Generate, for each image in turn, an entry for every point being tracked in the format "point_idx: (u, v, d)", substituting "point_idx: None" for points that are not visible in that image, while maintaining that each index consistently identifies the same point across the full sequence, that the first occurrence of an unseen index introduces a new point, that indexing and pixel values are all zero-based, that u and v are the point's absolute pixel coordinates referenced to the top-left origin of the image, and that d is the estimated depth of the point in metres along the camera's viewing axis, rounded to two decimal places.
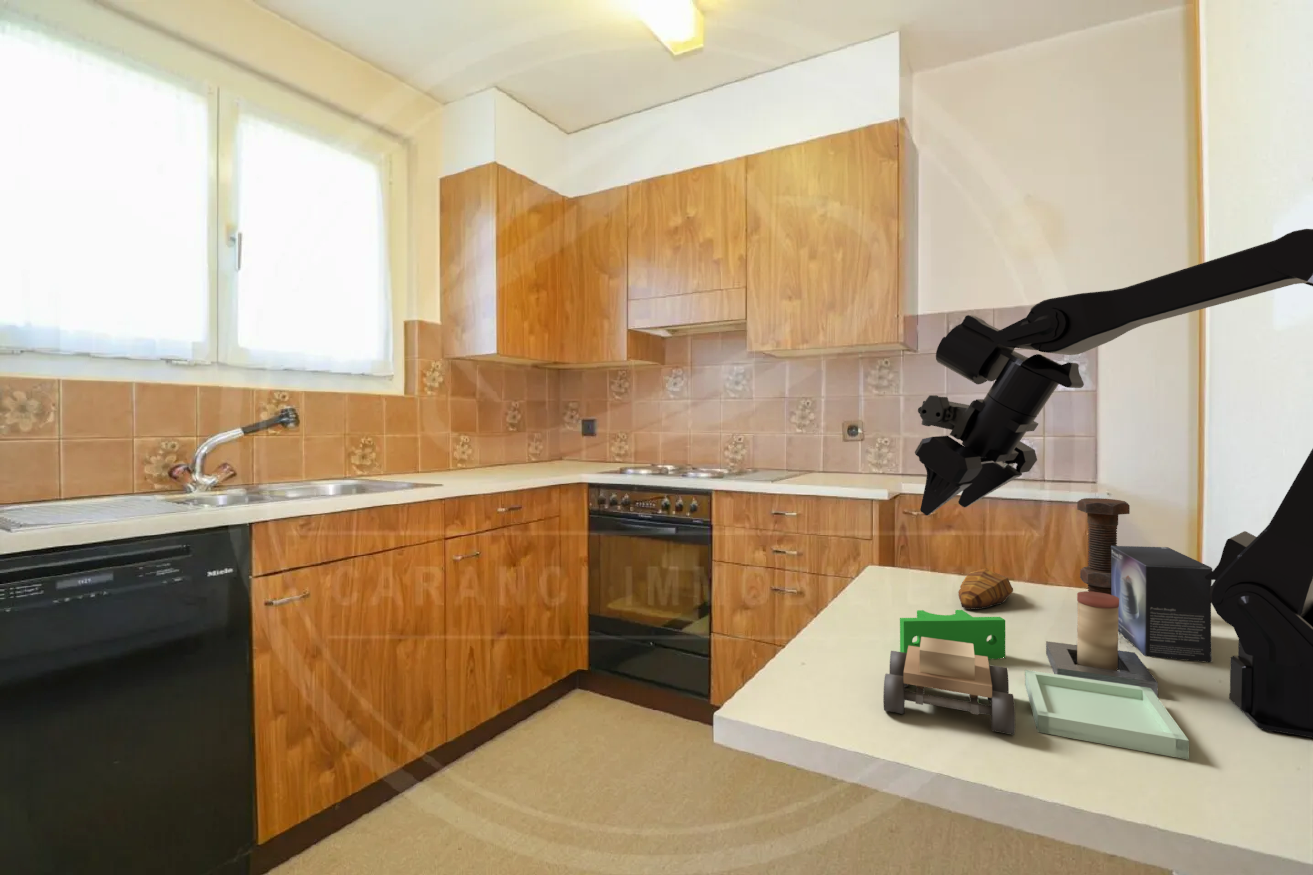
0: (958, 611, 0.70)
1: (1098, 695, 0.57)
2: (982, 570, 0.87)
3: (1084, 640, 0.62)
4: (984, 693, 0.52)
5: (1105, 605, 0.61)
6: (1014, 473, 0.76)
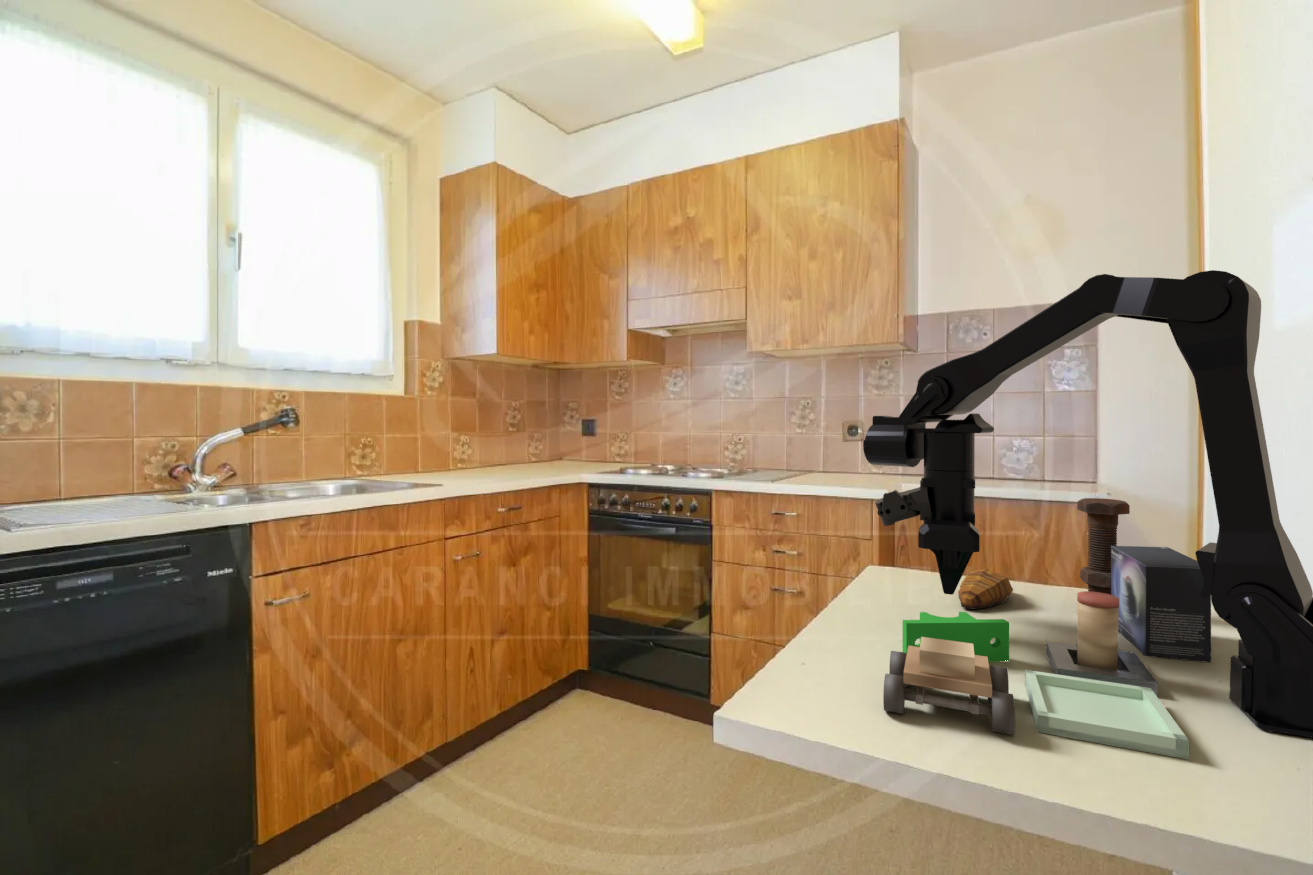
0: (961, 613, 0.69)
1: (1098, 695, 0.57)
2: (982, 570, 0.87)
3: (1084, 640, 0.62)
4: (984, 693, 0.52)
5: (1105, 605, 0.61)
6: None
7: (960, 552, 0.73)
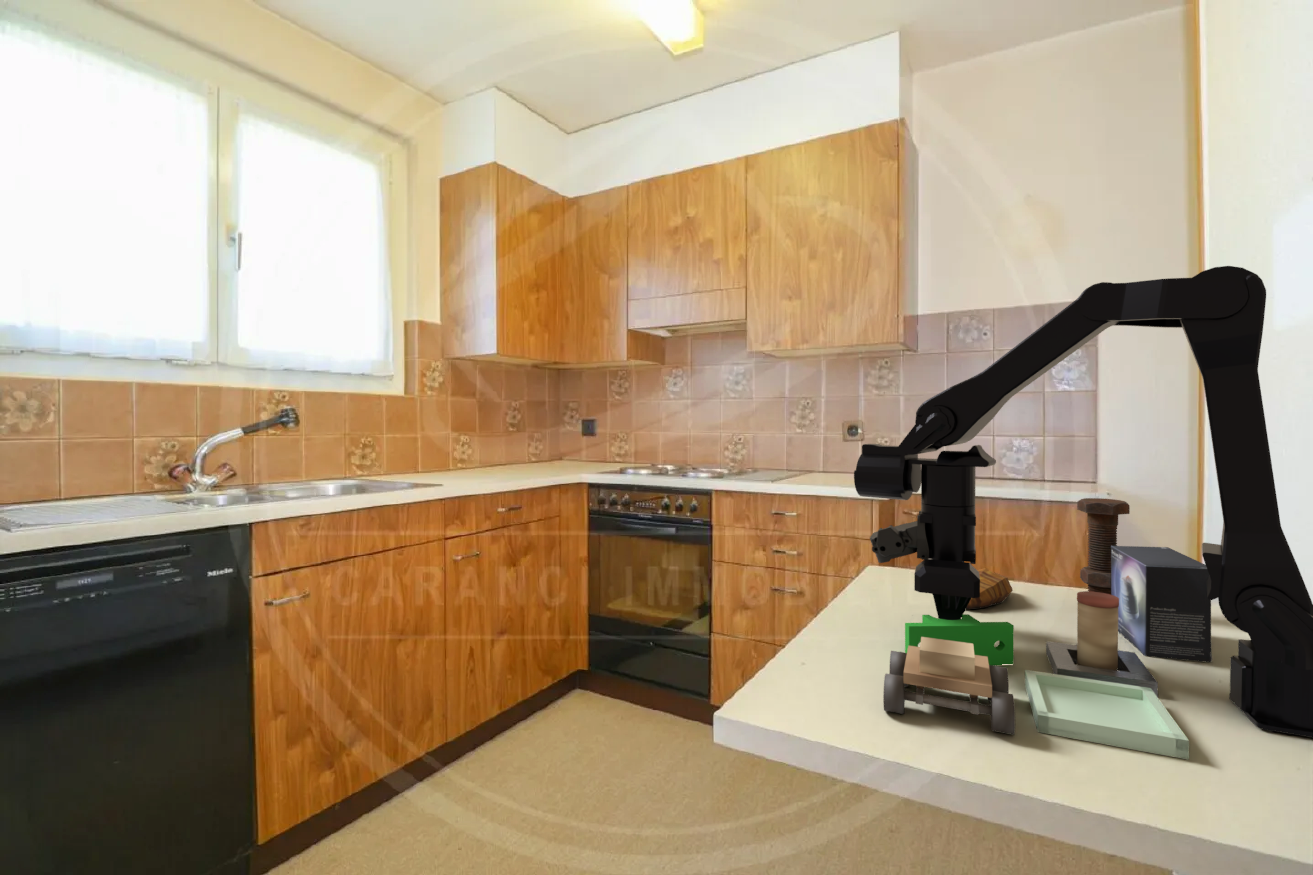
0: (965, 616, 0.68)
1: (1098, 695, 0.57)
2: (981, 570, 0.87)
3: (1083, 640, 0.62)
4: (984, 693, 0.52)
5: (1105, 605, 0.61)
6: None
7: None
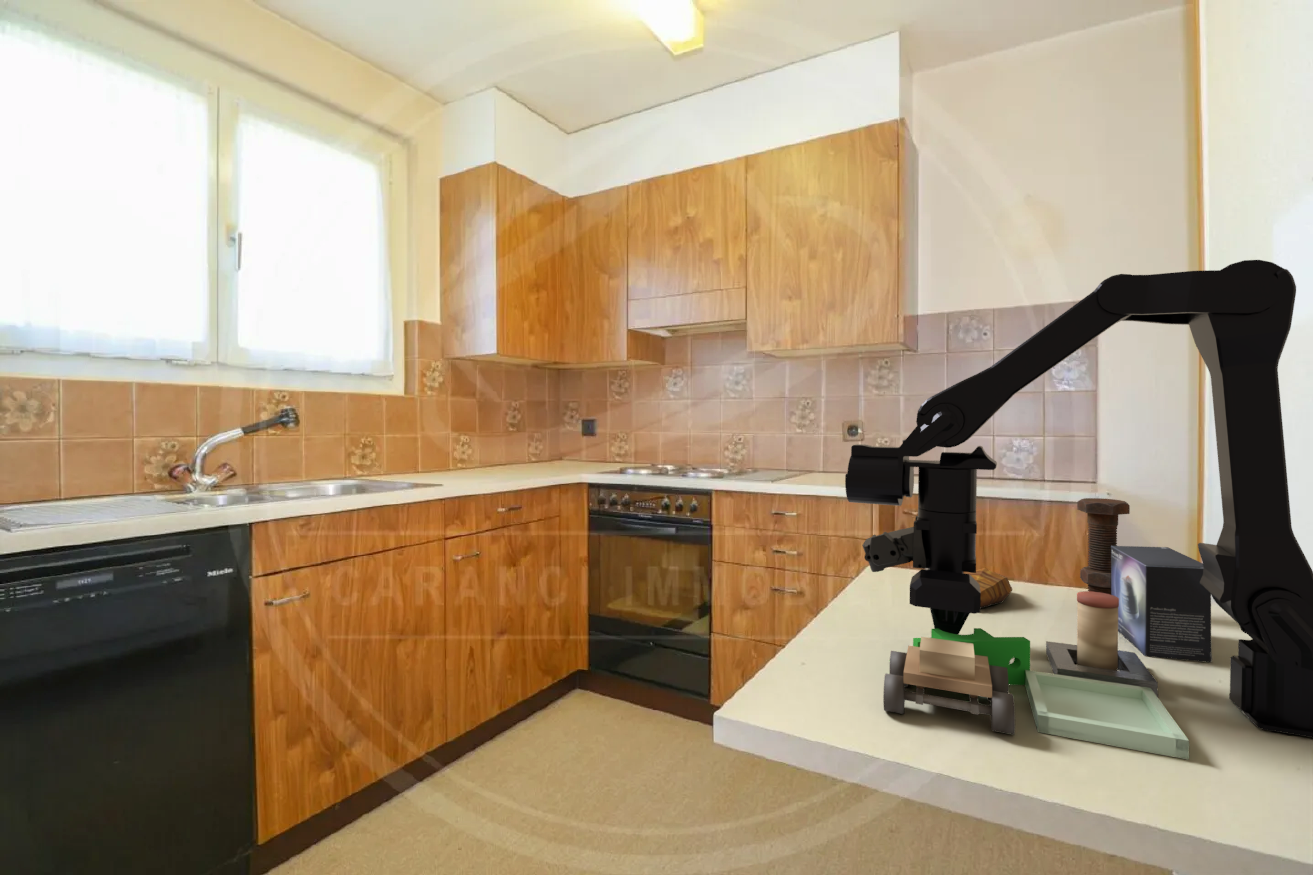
0: (977, 630, 0.63)
1: (1098, 695, 0.57)
2: (981, 569, 0.87)
3: (1084, 640, 0.62)
4: (984, 693, 0.52)
5: (1105, 605, 0.61)
6: None
7: None
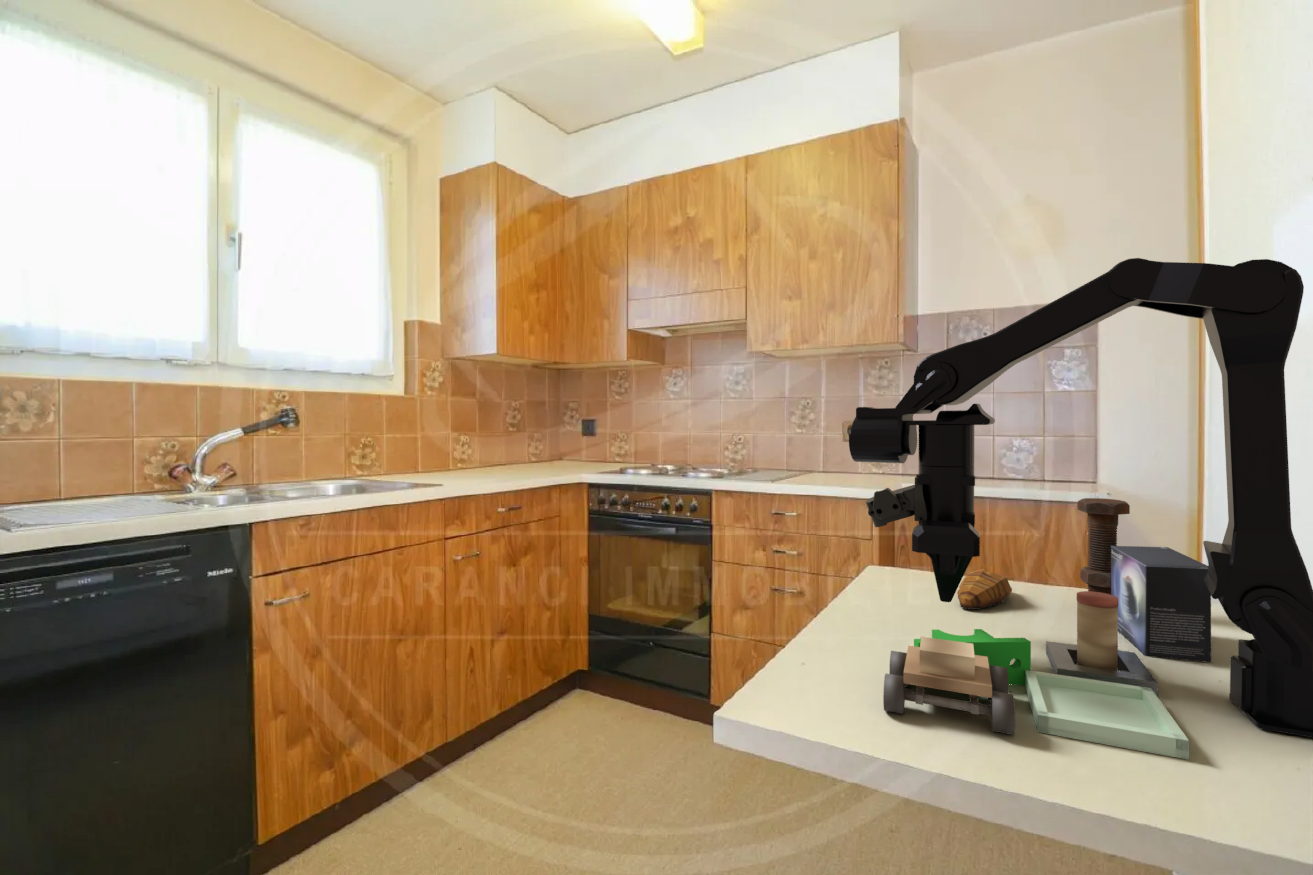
0: (977, 631, 0.63)
1: (1098, 695, 0.57)
2: (981, 570, 0.87)
3: (1083, 640, 0.62)
4: (984, 693, 0.52)
5: (1104, 605, 0.61)
6: None
7: (958, 556, 0.67)
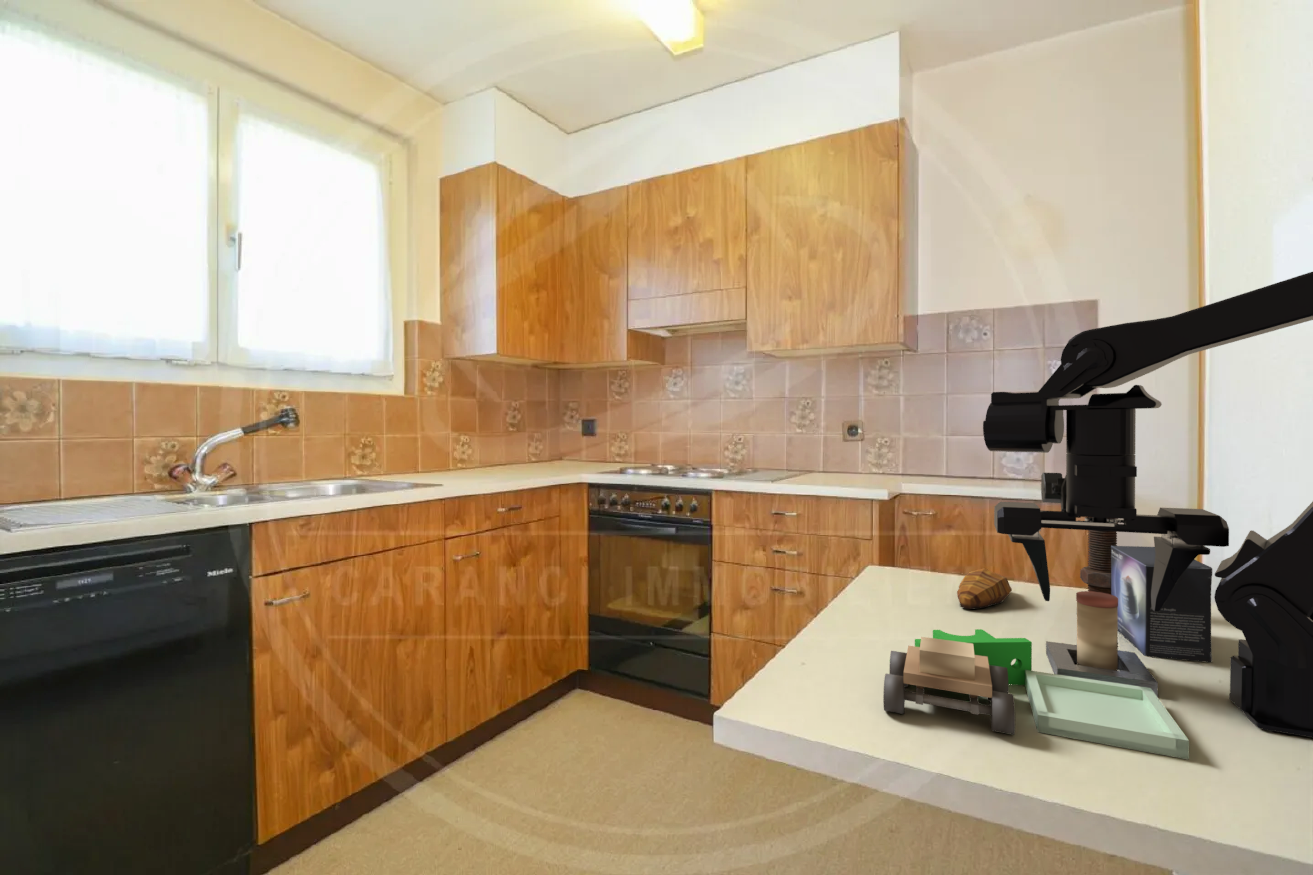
0: (978, 631, 0.63)
1: (1098, 695, 0.57)
2: (981, 570, 0.87)
3: (1083, 640, 0.62)
4: (984, 693, 0.52)
5: (1104, 605, 0.61)
6: (1185, 547, 0.57)
7: None
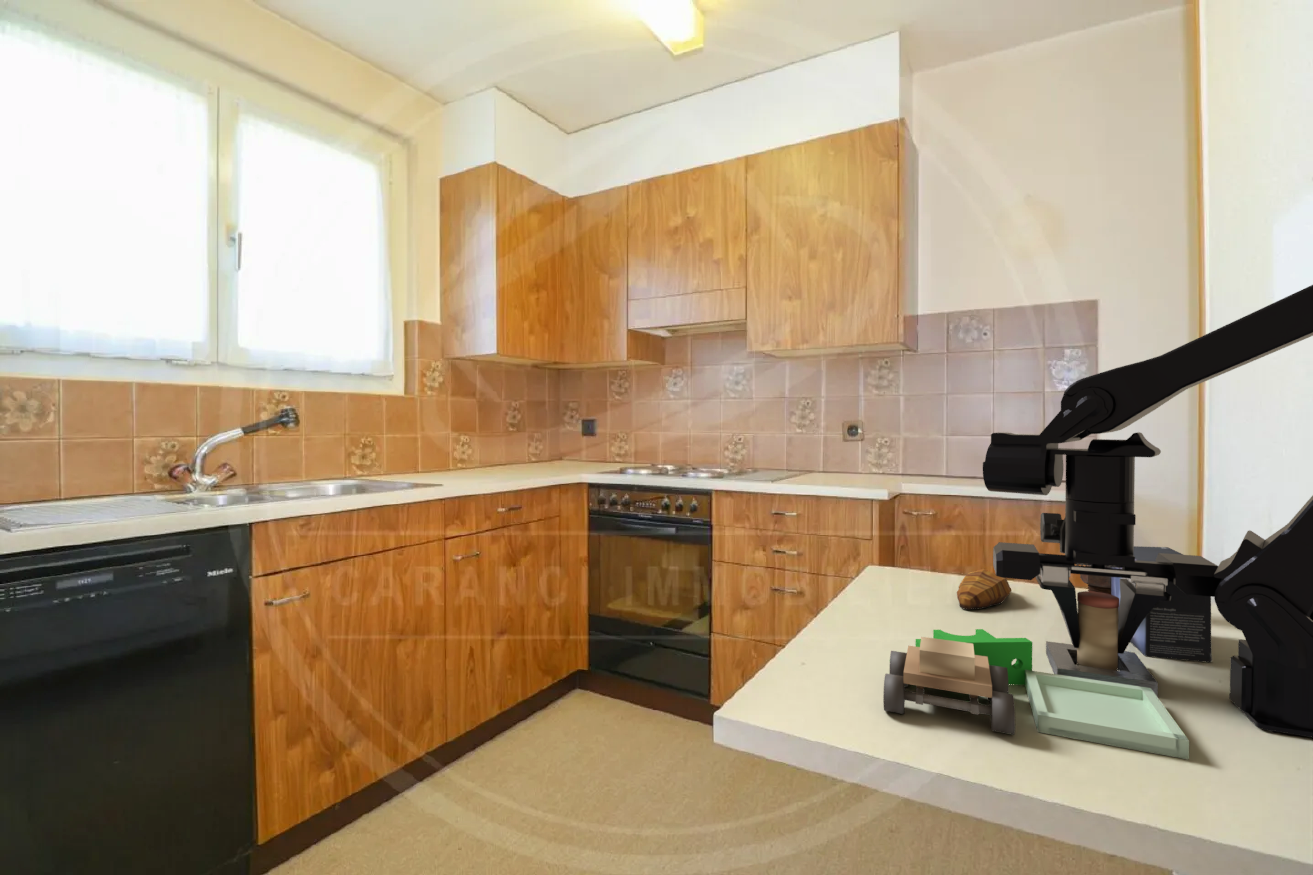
0: (979, 631, 0.63)
1: (1098, 695, 0.57)
2: (980, 570, 0.87)
3: (1084, 640, 0.62)
4: (984, 693, 0.52)
5: (1105, 605, 0.61)
6: (1147, 593, 0.59)
7: None
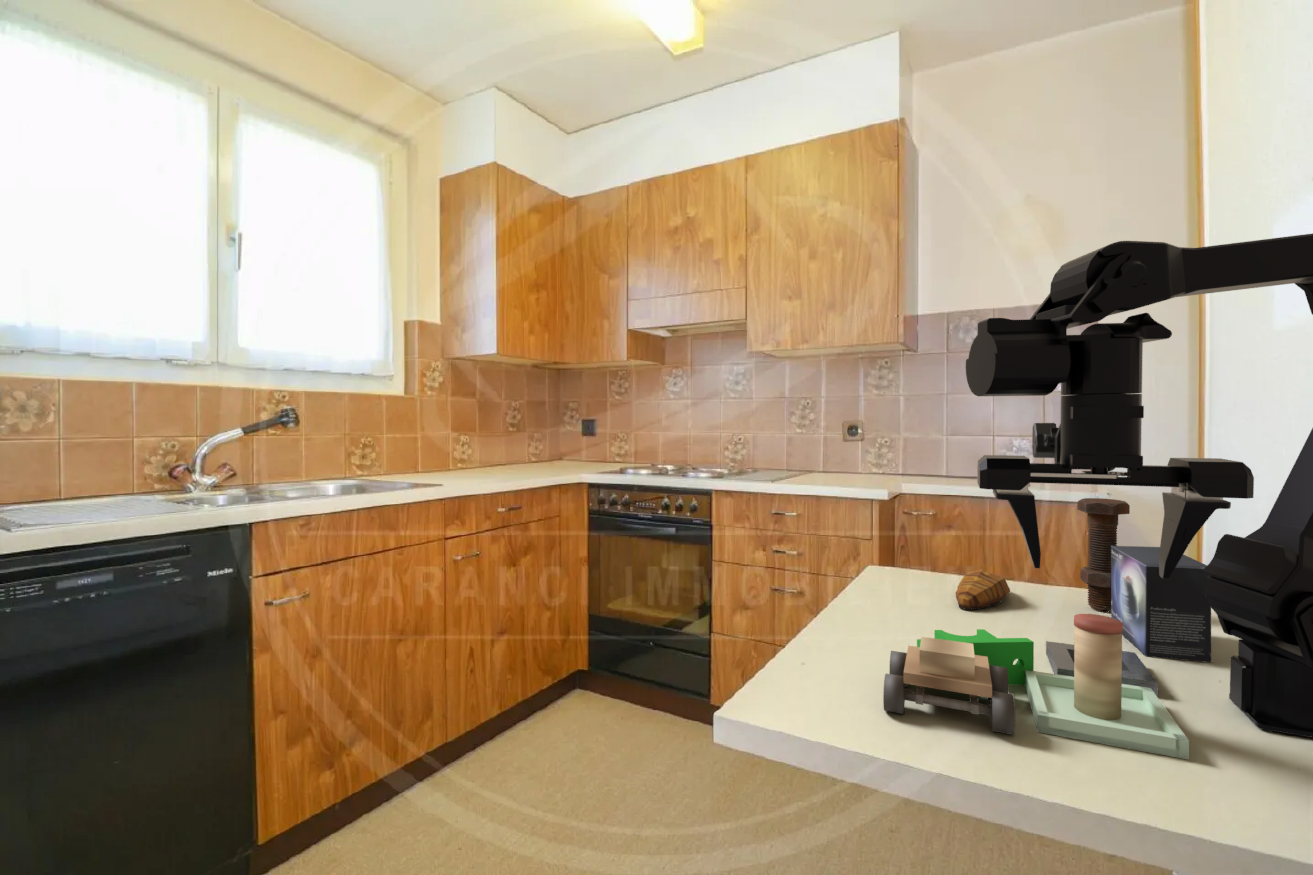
0: (980, 631, 0.63)
1: None
2: (979, 571, 0.87)
3: (1082, 672, 0.53)
4: (984, 693, 0.52)
5: (1107, 631, 0.52)
6: (1200, 501, 0.48)
7: None
